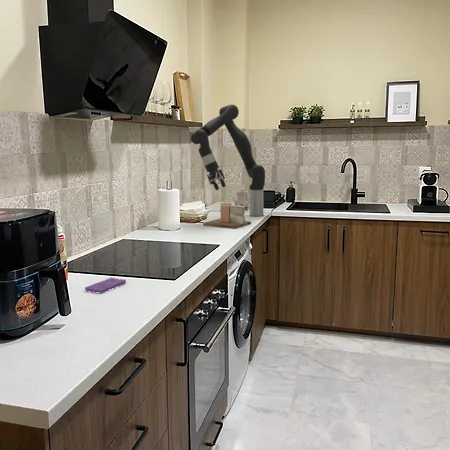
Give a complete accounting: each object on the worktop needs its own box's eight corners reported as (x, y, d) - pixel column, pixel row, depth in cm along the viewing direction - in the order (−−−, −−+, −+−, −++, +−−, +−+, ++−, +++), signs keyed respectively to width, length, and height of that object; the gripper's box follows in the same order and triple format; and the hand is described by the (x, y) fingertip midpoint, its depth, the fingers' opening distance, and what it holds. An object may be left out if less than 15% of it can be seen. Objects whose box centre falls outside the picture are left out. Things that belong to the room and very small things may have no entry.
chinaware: (244, 208, 350) (242, 186, 348) (260, 208, 338) (258, 185, 336) (217, 213, 331) (215, 189, 329) (233, 212, 319) (231, 188, 317)
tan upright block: (224, 220, 277) (223, 204, 275) (232, 221, 273) (232, 205, 272) (220, 221, 274) (220, 205, 272) (229, 222, 271) (229, 206, 269)
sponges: (126, 284, 161) (126, 279, 161) (100, 295, 150) (100, 290, 150) (111, 282, 164) (110, 277, 164) (84, 292, 153) (84, 287, 153)
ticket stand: (220, 220, 287) (220, 202, 285) (251, 223, 275) (251, 204, 273) (203, 225, 272) (203, 206, 270) (234, 228, 260) (234, 208, 258)
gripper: (211, 163, 280) (221, 188, 281) (199, 167, 268) (210, 192, 269) (220, 158, 276) (231, 183, 277) (209, 162, 264) (220, 188, 265)
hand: (221, 188), depth 273 cm, fingers open, 8 cm apart
